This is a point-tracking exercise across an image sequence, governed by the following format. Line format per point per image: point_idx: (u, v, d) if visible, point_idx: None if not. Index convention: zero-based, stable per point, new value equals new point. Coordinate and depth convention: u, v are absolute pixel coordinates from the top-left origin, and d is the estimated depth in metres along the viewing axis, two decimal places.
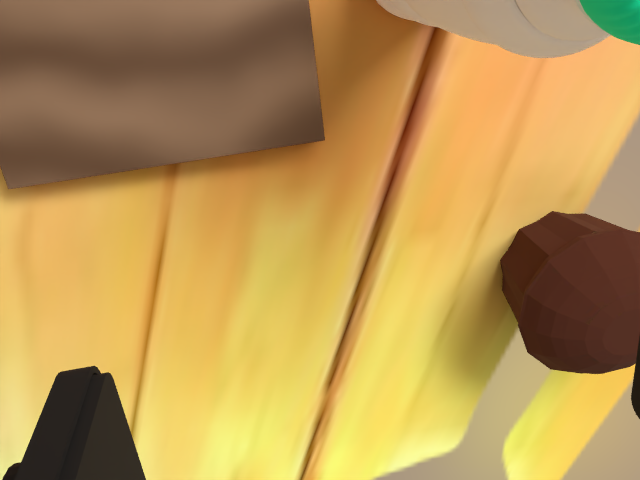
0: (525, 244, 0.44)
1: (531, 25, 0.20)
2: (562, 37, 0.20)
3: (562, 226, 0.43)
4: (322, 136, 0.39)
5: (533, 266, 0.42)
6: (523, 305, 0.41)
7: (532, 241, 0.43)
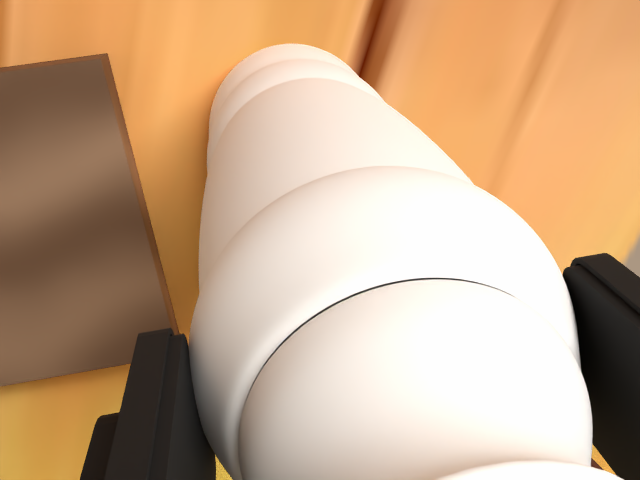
0: None
1: None
2: None
3: None
4: None
5: None
6: None
7: None
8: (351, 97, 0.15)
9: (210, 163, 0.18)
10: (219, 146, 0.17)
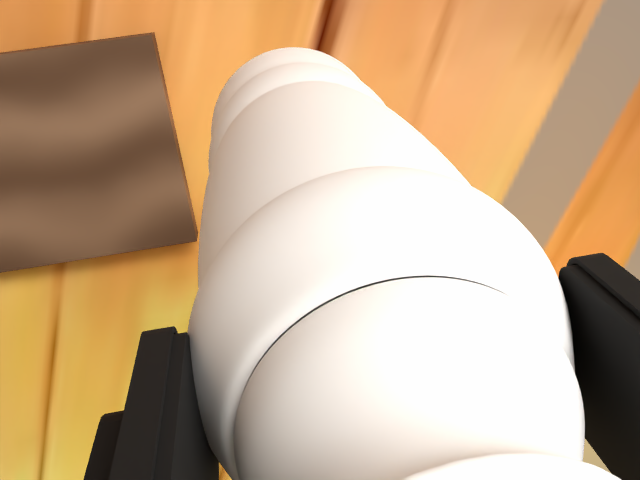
0: None
1: None
2: None
3: None
4: (194, 237, 0.43)
5: None
6: None
7: None
8: (350, 99, 0.16)
9: None
10: (220, 148, 0.17)
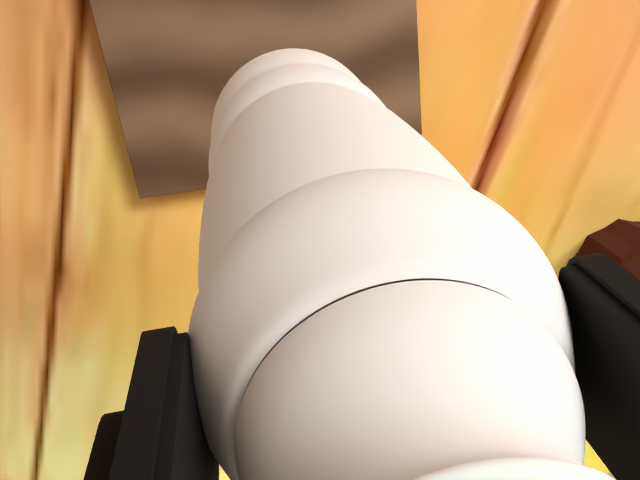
0: (595, 249, 0.49)
1: None
2: None
3: (631, 233, 0.47)
4: None
5: None
6: None
7: (603, 246, 0.47)
8: (350, 101, 0.16)
9: (211, 166, 0.18)
10: (220, 149, 0.17)
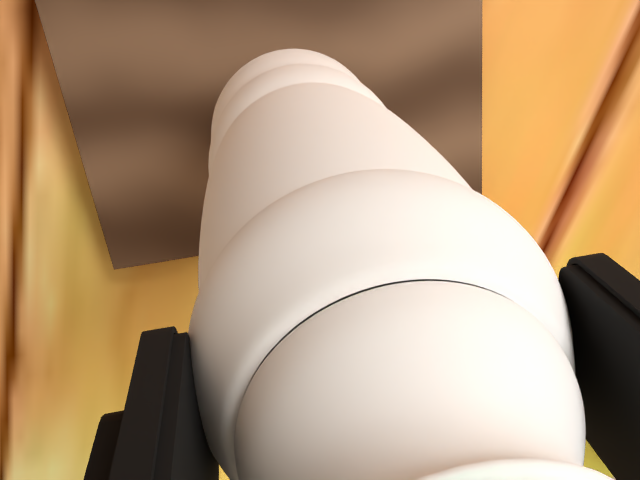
0: None
1: None
2: None
3: None
4: None
5: None
6: None
7: None
8: (350, 101, 0.16)
9: (211, 167, 0.18)
10: (220, 150, 0.17)
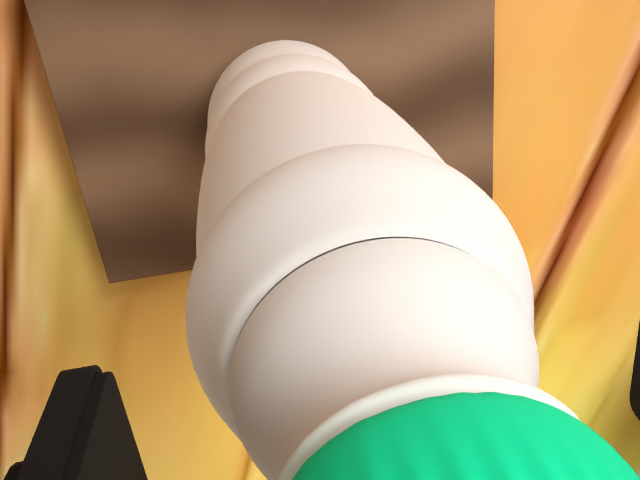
0: None
1: None
2: None
3: None
4: None
5: None
6: None
7: None
8: (338, 87, 0.17)
9: None
10: (216, 133, 0.18)
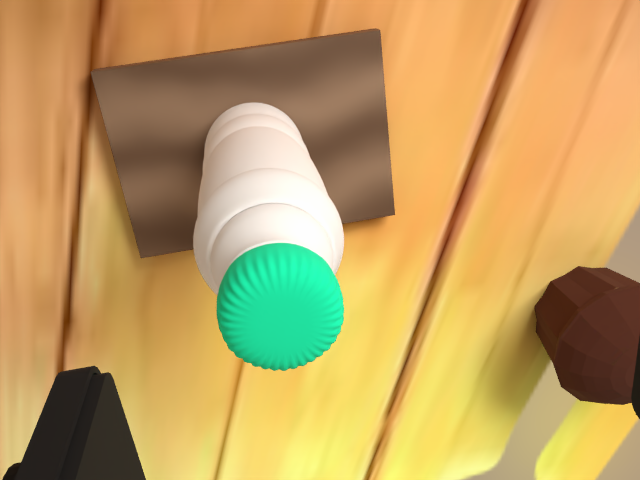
0: (556, 294, 0.53)
1: None
2: None
3: (588, 281, 0.52)
4: (393, 211, 0.48)
5: (565, 315, 0.51)
6: (558, 348, 0.49)
7: (563, 293, 0.52)
8: (269, 138, 0.33)
9: None
10: (207, 162, 0.34)
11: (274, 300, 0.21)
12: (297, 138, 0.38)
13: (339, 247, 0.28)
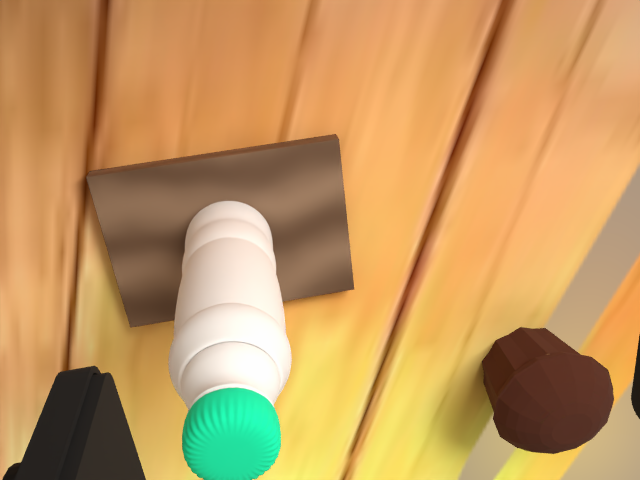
0: (499, 353, 0.60)
1: None
2: None
3: (526, 343, 0.59)
4: (352, 286, 0.55)
5: (504, 374, 0.58)
6: (496, 405, 0.56)
7: (504, 354, 0.59)
8: (235, 259, 0.39)
9: None
10: (184, 273, 0.41)
11: (225, 440, 0.28)
12: (262, 244, 0.44)
13: (286, 369, 0.34)
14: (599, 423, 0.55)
